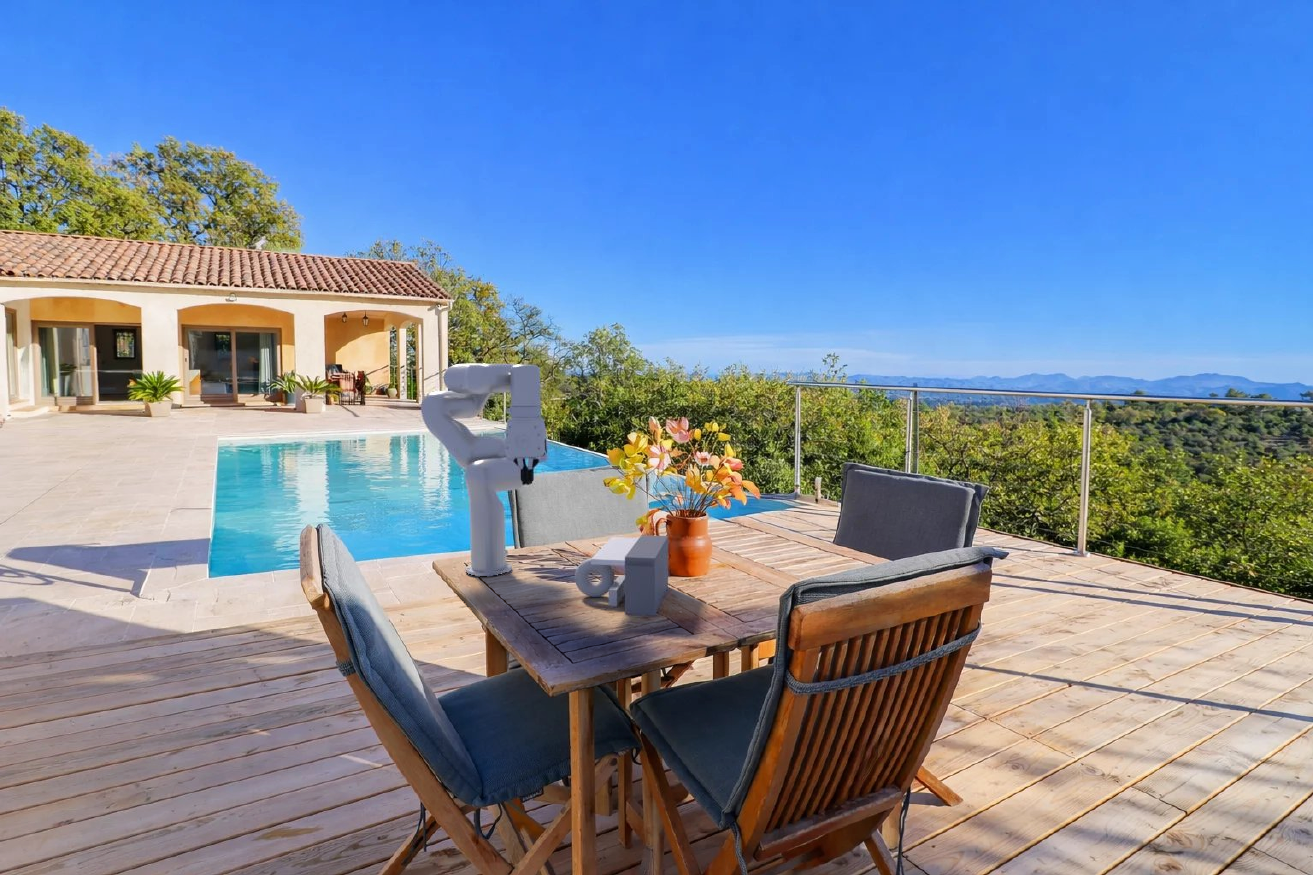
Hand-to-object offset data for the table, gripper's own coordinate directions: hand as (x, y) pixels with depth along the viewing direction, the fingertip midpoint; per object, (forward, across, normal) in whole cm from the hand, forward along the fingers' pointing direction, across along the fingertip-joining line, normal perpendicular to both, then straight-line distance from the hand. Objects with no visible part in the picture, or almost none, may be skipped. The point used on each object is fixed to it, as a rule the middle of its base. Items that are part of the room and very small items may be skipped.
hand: (527, 483), depth 182 cm
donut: (+27, +19, -6) cm, 34 cm away
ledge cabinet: (+27, +28, -6) cm, 39 cm away
